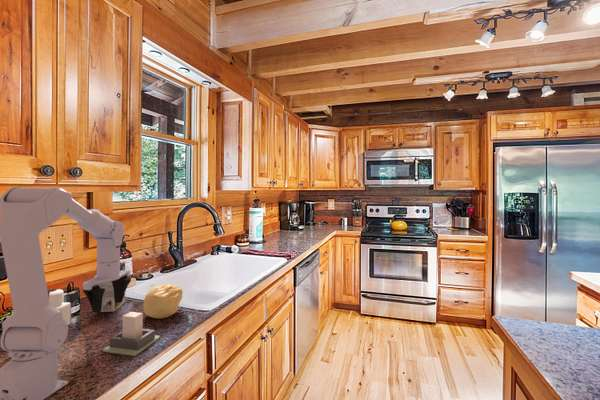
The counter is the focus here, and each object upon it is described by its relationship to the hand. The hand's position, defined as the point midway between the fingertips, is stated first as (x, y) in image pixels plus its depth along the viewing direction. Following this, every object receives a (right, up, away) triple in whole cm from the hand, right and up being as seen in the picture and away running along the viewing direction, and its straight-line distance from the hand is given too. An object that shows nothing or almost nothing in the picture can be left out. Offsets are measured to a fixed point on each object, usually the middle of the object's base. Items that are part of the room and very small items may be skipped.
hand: (108, 306), depth 86 cm
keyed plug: (+9, -9, -3) cm, 13 cm away
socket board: (+9, -10, -3) cm, 14 cm away
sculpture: (+8, -10, +18) cm, 22 cm away
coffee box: (-15, -9, +24) cm, 29 cm away
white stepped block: (-22, -9, +6) cm, 24 cm away
